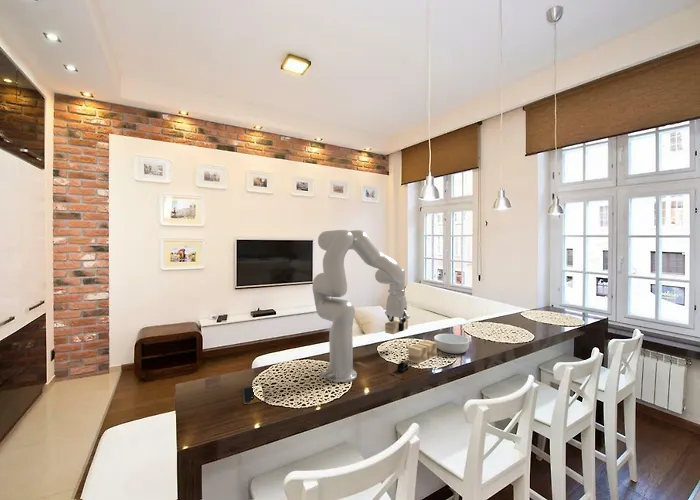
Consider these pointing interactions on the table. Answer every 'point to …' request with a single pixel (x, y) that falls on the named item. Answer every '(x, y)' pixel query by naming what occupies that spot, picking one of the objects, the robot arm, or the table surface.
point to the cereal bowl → (451, 343)
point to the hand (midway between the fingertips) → (396, 329)
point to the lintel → (394, 326)
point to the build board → (424, 361)
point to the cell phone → (247, 394)
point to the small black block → (402, 367)
